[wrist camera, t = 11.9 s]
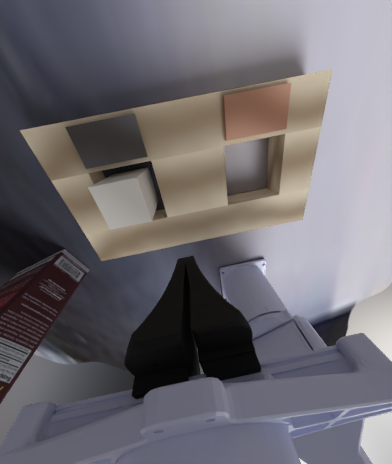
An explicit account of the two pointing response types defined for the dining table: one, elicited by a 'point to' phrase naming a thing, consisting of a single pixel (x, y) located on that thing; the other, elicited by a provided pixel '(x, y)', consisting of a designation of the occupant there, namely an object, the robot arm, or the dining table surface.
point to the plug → (126, 198)
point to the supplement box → (33, 310)
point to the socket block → (190, 161)
